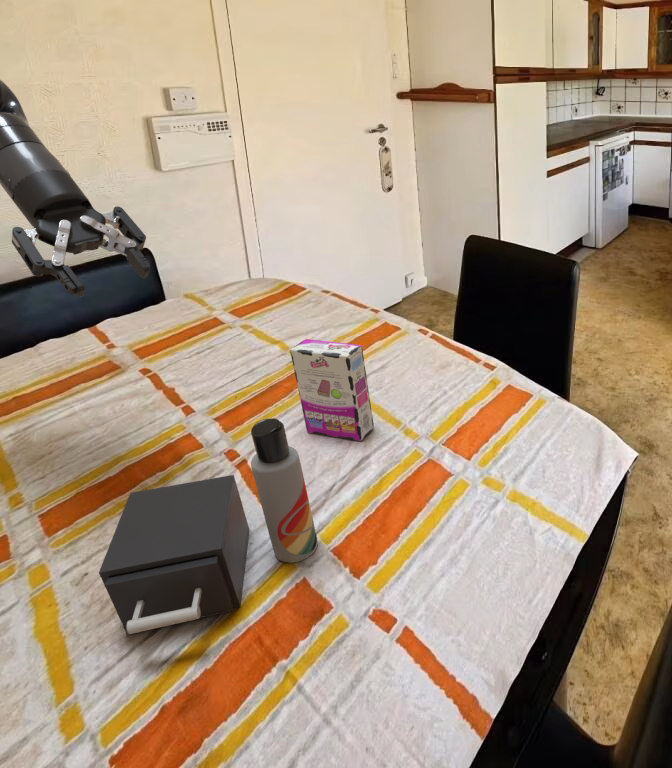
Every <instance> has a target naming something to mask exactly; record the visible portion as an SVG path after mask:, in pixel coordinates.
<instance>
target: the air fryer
mask: <svg viewBox="0 0 672 768" xmlns="http://www.w3.org/2000/svg"><path fill="white" fill-rule="evenodd" d="M238 488H239V487H238V484H237V481H236V478H235V475H234V474H231V475H225V476H219V477H213V478H208V479H207V478H206V479H201V480H196V481H190V482H183V483H179V484H172V485H167V486H161V487H155V488H150V489H143V490H138V491H137V490H136V491H133V492H132V491H131V492H129V495H128V497H127V500H126V503H125V505H124V508H123V510H122V513H121V515H120V518H119V521H118V522H117V526H116V528H115V531H114V533H113V536H112V538H111V540H110V543H109V546H108V548H107V551H106V554H105V556H104V558H103V561H102V563H101V565H100V568H99V571H98V574H99V576H100V579H101V581H102V583H103V585H104V586H105V583H106V580H107V578H108V577H113V576H118V575H121V574H123V573H128V572H133V571H138V570H143V569H148V568H153V567H158V566H163V565H168V564H173V563H178V562H183V561H188V560H193V559H198V558H203V557H208V556H213V555H216V556H218V558H219V561H220V564H221V567H222V570H223V573H224V576H225V580H226V583H227V586H228V589H229V592H230V595H231V598H232V601H233V610H234V609H239V608H241V605H242V596H243V589H244V579H245V572H246V571H245V570H246V562H247V554H248V545H249V537H250V527H249V522H248V519H247V515H246V512H245V510H244V509H245V508H244V506H243V502H242V498H241V495H240V492H239V489H238ZM105 589H106V588H105ZM106 591H107V589H106ZM116 614H117V615H118V613H117V612H116ZM122 627H123V628H124V626H123V625H122Z"/></svg>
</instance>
